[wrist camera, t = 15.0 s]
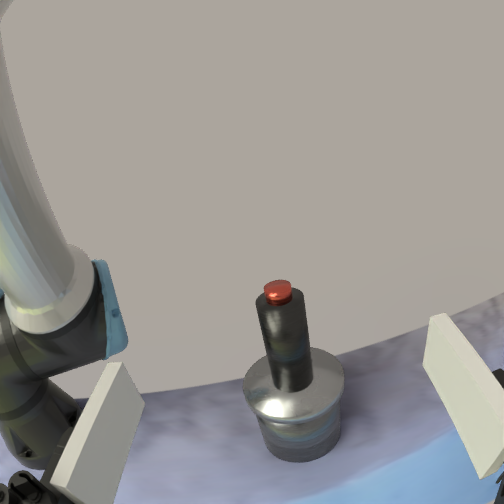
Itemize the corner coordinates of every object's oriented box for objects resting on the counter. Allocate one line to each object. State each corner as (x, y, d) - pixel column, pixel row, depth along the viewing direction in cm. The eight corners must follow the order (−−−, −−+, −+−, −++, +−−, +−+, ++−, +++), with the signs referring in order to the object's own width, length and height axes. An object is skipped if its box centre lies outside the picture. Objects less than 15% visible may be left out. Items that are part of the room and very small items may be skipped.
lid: (226, 407, 29) (191, 310, 25) (274, 348, 37) (256, 257, 33) (321, 436, 24) (310, 331, 19) (357, 362, 31) (353, 262, 27)
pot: (249, 448, 32) (233, 404, 29) (285, 397, 39) (276, 351, 36) (321, 471, 27) (318, 429, 24) (350, 412, 34) (351, 364, 31)
